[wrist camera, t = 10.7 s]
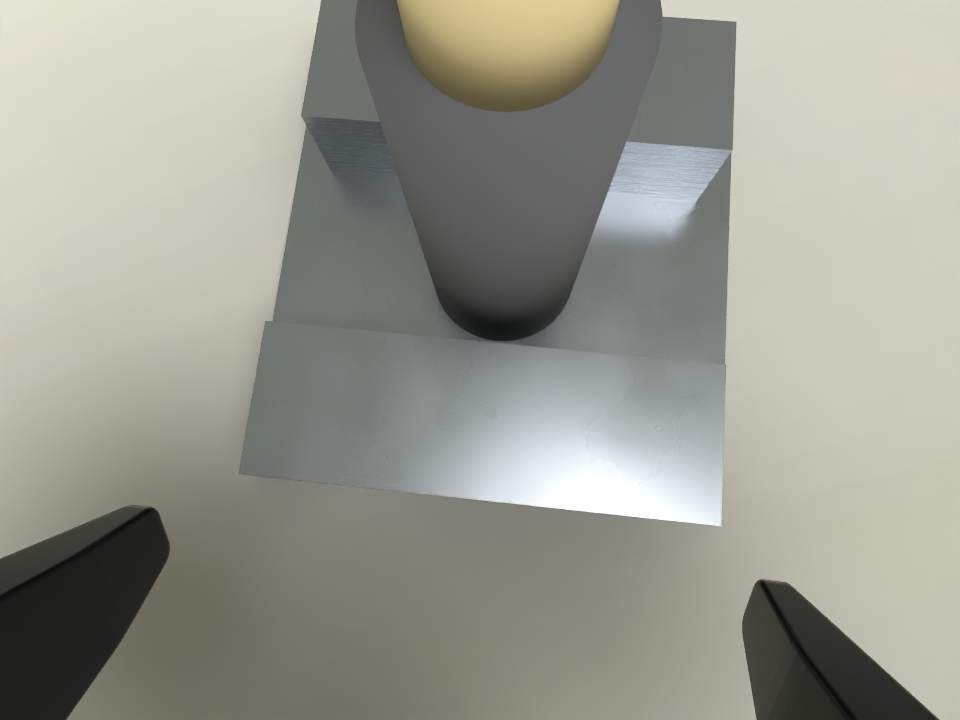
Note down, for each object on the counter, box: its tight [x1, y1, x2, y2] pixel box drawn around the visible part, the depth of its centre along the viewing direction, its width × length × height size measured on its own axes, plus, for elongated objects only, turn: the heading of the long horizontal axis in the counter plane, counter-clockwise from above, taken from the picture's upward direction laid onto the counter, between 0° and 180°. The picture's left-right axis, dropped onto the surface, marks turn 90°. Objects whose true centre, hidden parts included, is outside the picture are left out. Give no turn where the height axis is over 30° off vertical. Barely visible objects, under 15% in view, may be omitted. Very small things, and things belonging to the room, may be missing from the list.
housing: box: [239, 0, 736, 526], centre depth 19 cm, size 14×14×4 cm
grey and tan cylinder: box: [355, 0, 662, 341], centre depth 13 cm, size 4×4×13 cm
